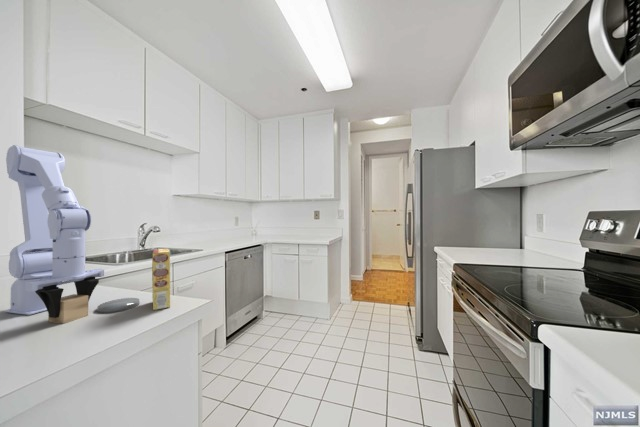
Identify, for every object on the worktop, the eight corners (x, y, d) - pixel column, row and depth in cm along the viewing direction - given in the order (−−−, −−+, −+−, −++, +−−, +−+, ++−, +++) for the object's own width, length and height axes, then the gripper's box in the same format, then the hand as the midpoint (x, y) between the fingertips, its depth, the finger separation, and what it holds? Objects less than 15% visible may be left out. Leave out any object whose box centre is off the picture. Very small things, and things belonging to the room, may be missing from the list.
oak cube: (48, 321, 59) (48, 300, 59) (73, 313, 63) (73, 294, 64) (63, 323, 57) (63, 302, 58) (88, 315, 62) (88, 295, 62)
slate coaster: (88, 311, 65) (88, 307, 65) (122, 300, 74) (123, 296, 74) (114, 314, 63) (114, 310, 63) (147, 302, 72) (147, 298, 72)
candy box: (170, 307, 67) (170, 251, 68) (151, 311, 65) (152, 252, 65) (169, 298, 75) (169, 248, 75) (152, 301, 72) (152, 249, 73)
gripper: (41, 262, 53) (40, 326, 52) (112, 253, 67) (112, 303, 67) (19, 261, 54) (18, 323, 54) (93, 252, 68) (92, 301, 68)
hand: (68, 312), depth 60 cm, fingers closed on oak cube, 5 cm apart
